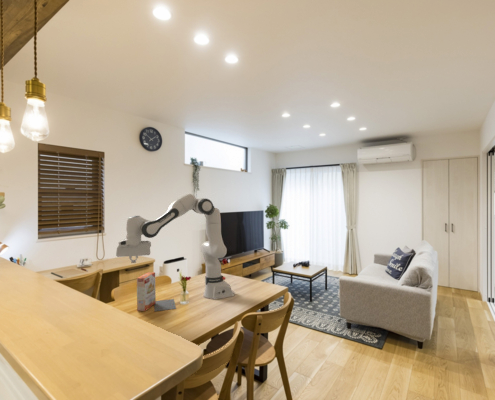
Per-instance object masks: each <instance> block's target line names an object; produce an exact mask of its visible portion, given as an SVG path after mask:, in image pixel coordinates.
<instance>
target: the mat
mask: <svg viewBox="0 0 495 400" xmlns="http://www.w3.org/2000/svg"><path fill="white" fill-rule="evenodd" d="M153 306H154V312H160V311H162V312H163V311H169V310H170V311H171V310H176V309H177V307H176V302H175V299H174V298H171V299H163V300H156V303H155V304H154V305H153Z"/></svg>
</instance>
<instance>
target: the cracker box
mask: <svg viewBox="0 0 495 400" xmlns="http://www.w3.org/2000/svg"><path fill="white" fill-rule="evenodd" d="M156 295H157V294H156V272H154V271H151V272H149V271H148V272H146V273H144V274H142V275H139V276H138V277H136V304H137V305H136V307H137V308H136V310H137V311H138V312H146V311H147V310H149V309H150V308H151V307H152V306H154V304H155V303H156V301H157V299H156V297H157V296H156Z"/></svg>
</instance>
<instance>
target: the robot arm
mask: <svg viewBox="0 0 495 400" xmlns="http://www.w3.org/2000/svg"><path fill="white" fill-rule="evenodd" d="M191 210H192V211H193V212H195V213H197V214H200V215H204V217H205V235H206V237H207V239H208V240H206V241H203V242H202V244H201V245H200V250H201V251H200V252H202V255H203V259H204V263H205V276H204V277H205V278H204V285H205V288H204V292H203V297H204V298H206V299H213V300H220V299H226V298H230V297H234V296H235V295H236V294H235V291H233V290H232V287H231V284H230V283H228V282H227V281H225V280H226V276H224V275H222V265H221V262H220V260H219V259H223V258H224V257H226V255H227V251H228V250H227V247H226V245H225V244H224V240H223V237H222V221H221V220H222V219H221V218H222V217H221V212H220V210H219V209H218V208H217V207H215V205H214V204H213V202H212V200H210V199H208V198H203V197H202V198H201V197H200V198H196V197H195V196H194V194H192V193H188V194H185V195H183V196H181V197H179V198H177V199H175V200H174V201H173V202H172V203H171V204H169V206H168V209H167V211H166V212H165V213H164V214H162V215H161V216H160V217H158V218H157V219H154V220H149V219H146V218H144V217H141V216H140V215H134V216H129V217H128V218H127V221H126V236H125V237H126V238H125V239H121V240H119V241H118V246H117V248H116V253H115V256H116V257H118V258H121V257H123V258H124V257H128V259H129V260H130V262H131V264H136V263H137V259H138V258H139V256H150V255H151V247H152V242H151V241H149V240H142V235H143V236H144V237H145V238H147V239H151V238H152V239H153V238H154V237H156V236H157V235H158V234H159V233H160V231H161V230H162V229H163V228H164V227H165V226H167V225H168V224H170V222H172V221H174V220H176V219H177V218H180V217H181V216H184V215H186V213H188V212H189V211H191ZM133 257H135V259H133Z"/></svg>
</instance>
